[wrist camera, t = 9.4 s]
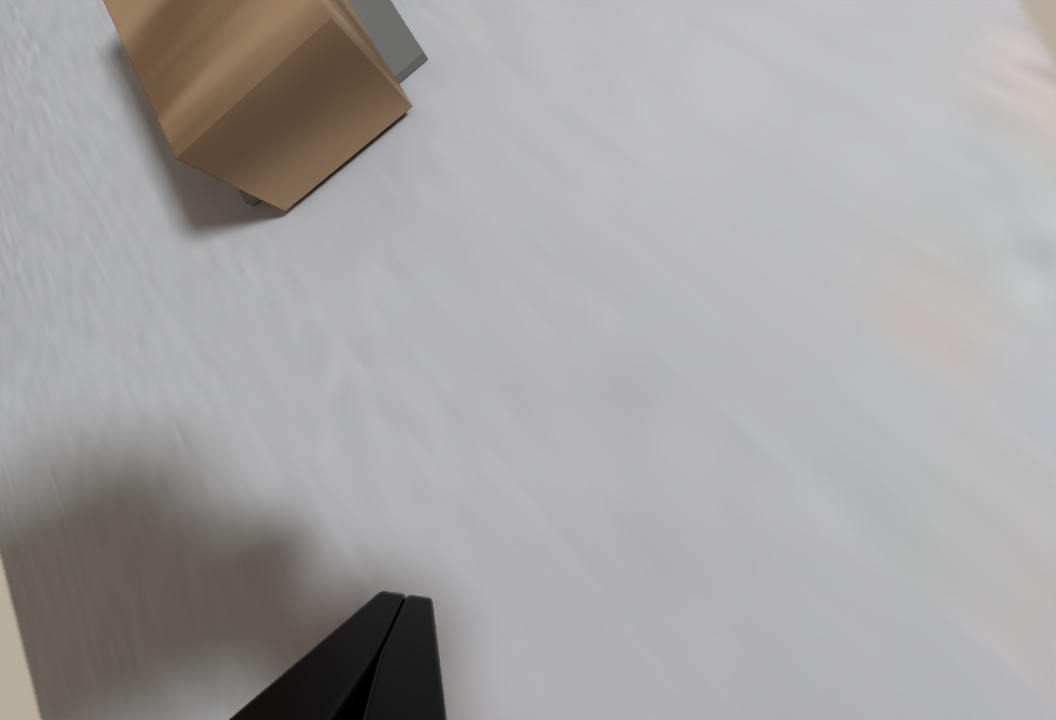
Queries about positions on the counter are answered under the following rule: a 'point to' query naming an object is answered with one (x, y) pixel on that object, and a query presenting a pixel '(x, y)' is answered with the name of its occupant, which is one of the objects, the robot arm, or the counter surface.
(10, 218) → the counter surface
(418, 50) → the mat
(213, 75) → the block
